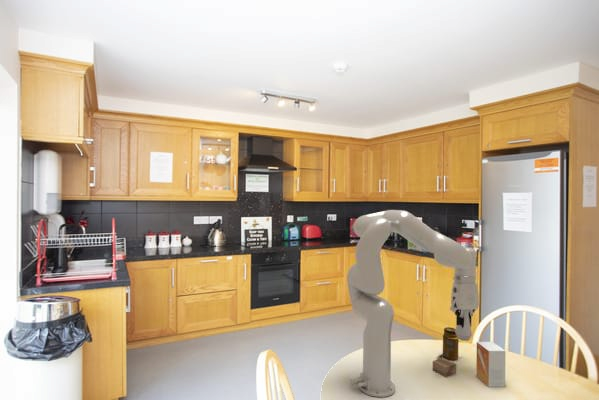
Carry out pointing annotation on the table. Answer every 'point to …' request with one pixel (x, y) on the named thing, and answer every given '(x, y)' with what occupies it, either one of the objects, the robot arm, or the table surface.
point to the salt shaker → (464, 328)
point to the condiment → (450, 345)
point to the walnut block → (444, 367)
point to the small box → (490, 364)
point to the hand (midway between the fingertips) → (463, 325)
